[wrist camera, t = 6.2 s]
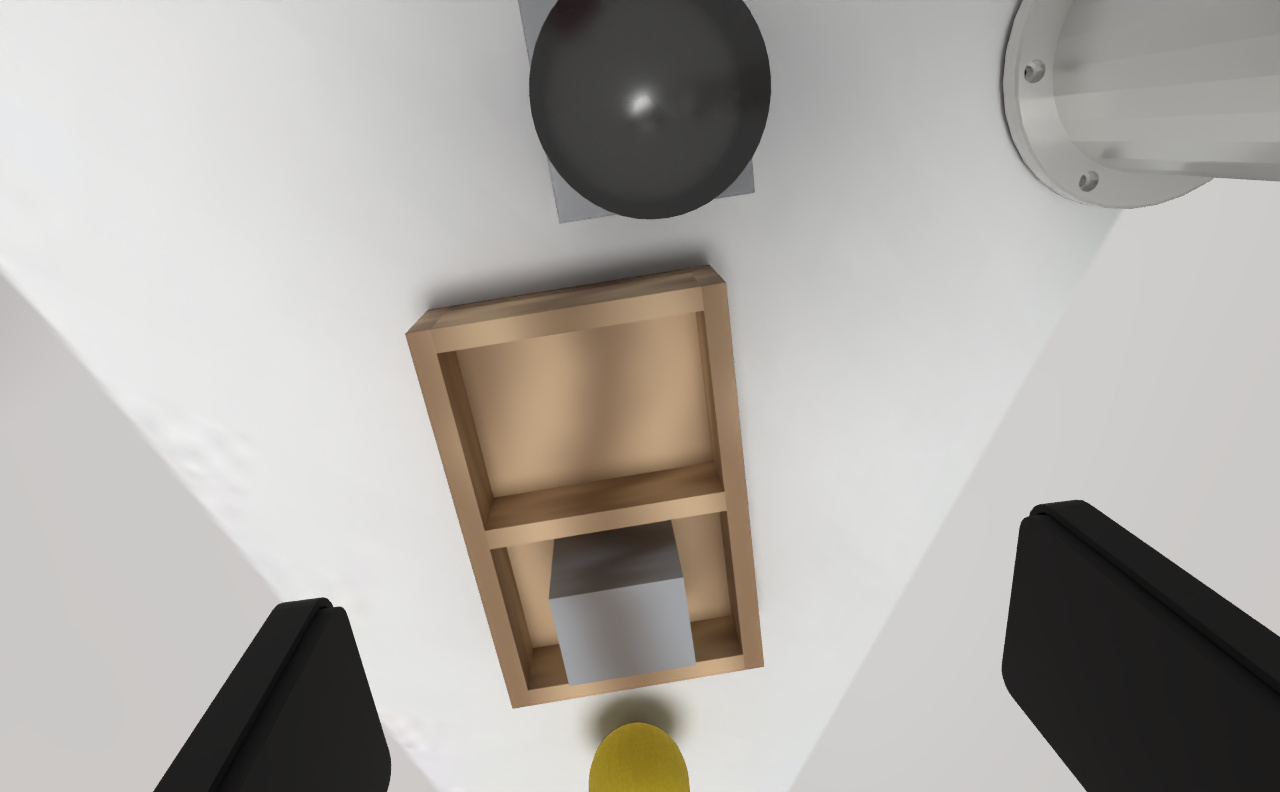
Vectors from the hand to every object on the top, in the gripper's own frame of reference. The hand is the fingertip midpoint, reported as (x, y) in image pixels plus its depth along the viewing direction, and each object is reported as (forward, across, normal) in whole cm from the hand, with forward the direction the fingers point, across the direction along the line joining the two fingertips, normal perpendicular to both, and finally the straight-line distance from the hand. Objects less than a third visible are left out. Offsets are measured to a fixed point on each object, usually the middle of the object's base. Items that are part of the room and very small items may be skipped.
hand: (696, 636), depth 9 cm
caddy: (+23, +1, +10) cm, 25 cm away
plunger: (+22, -2, -8) cm, 23 cm away
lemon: (+23, +2, +26) cm, 35 cm away
